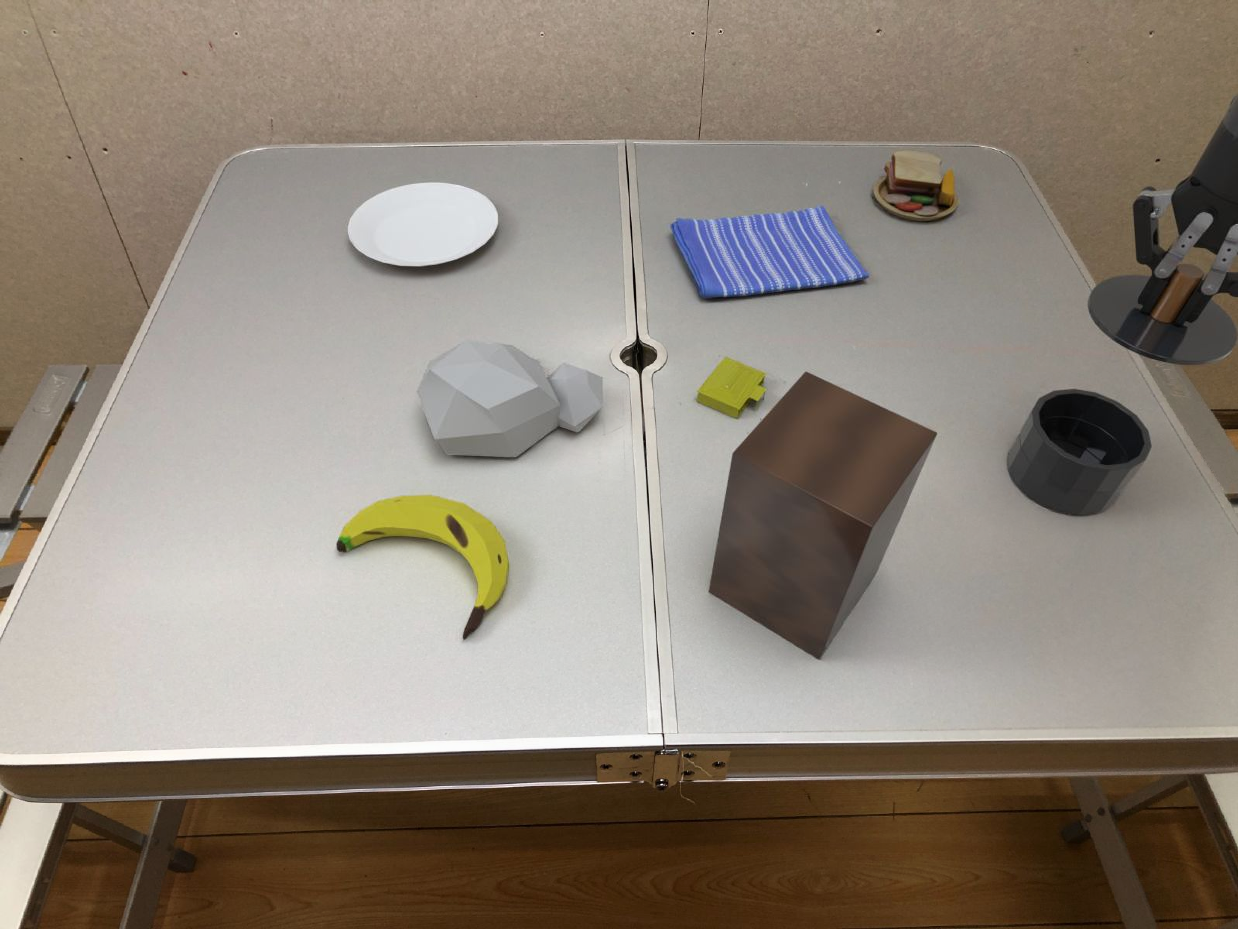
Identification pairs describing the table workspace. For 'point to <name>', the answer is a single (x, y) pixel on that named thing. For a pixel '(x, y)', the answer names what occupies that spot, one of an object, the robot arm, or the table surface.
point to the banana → (439, 539)
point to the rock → (502, 399)
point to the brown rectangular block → (814, 509)
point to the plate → (423, 224)
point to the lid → (1162, 319)
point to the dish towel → (765, 253)
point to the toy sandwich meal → (916, 187)
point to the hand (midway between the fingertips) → (1163, 314)
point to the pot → (1077, 452)
